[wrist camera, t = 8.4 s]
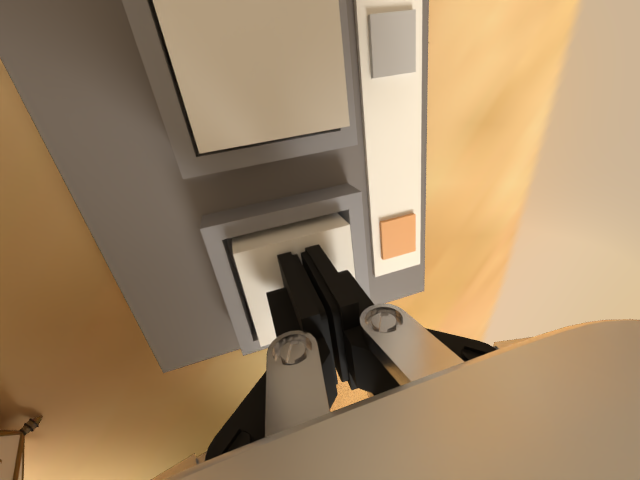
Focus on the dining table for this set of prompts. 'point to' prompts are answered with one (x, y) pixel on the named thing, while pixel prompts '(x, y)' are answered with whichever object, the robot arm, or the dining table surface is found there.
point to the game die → (14, 451)
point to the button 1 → (263, 247)
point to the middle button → (256, 68)
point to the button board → (220, 162)
